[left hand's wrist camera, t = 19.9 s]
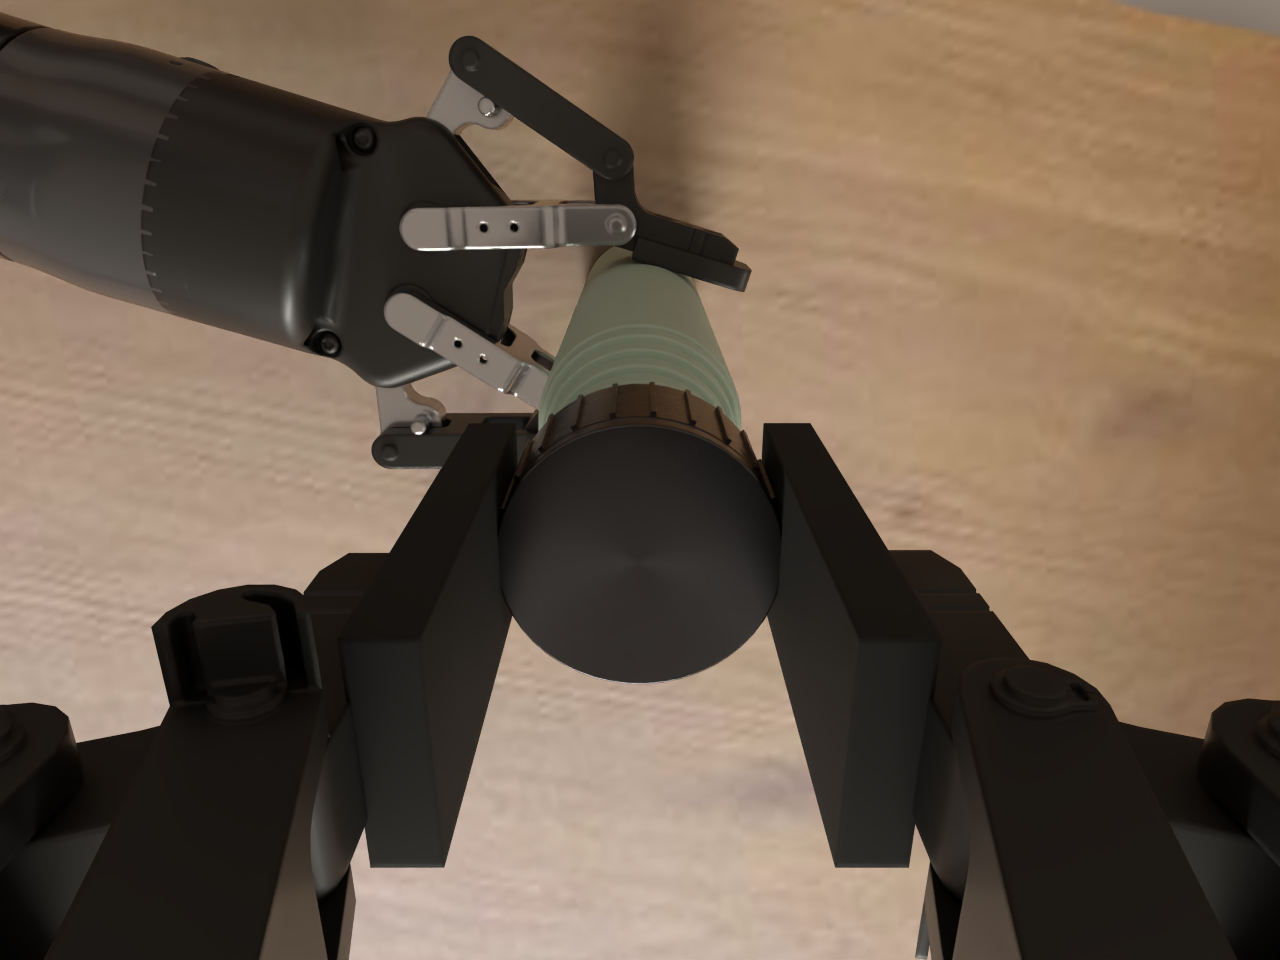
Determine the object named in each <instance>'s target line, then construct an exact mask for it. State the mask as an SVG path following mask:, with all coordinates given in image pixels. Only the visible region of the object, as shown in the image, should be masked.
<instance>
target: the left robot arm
mask: <svg viewBox="0 0 1280 960" xmlns="http://www.w3.org/2000/svg"><path fill="white" fill-rule="evenodd" d="M762 463H763V466H764V468H765V471H766V473H767V476H768V479H769V481H770V484H771V486H772V489H773V491H774V494H775V497H776V499H777V501H776V502H774V503H773V504H774V506H775V509H776V512H777V515H778V517H779V520H780V524H781V529H782V542H781V558H780V573H779V587H778V593H777V595H776V598H775V600H774V603H773V605H772V607H771V609H770V611H769V612H768V614H767V617H768V621H769V624H770V628H771V632H772V635H773V639H774V643H775V647H776V650H777V654H778V658H779V661H780V665H781V669H782V672H783V676H784V680H785V683H786V687H787V691H788V695H789V698H790V702H791V706H792V709H793V713H794V717H795V720H796V724H797V728H798V732H799V735H800V739H801V743H802V746H803V750H804V754H805V757H806V761H807V765H808V769H809V772H810V776H811V780H812V783H813V787H814V791H815V794H816V798H817V802H818V806H819V809H820V813H821V817H822V820H823V824H824V828H825V831H826V835H827V839H828V842H829V846H830V850H831V854H832V857H833V861H834V865H835V868H909V863H910V856H911V849H912V842H913V835H914V829H915V824H916V826H917V829H918V831H919V834H920V836H921V839H922V841H923V844H924V846H925V849H926V851H927V854H928V856H929V858H930V865H929V872H928V878H927V884H926V891H925V897H924V903H923V910H922V916H921V922H920V929H919V935H918V941H917V949H916V956H915V958H919V959H925V960H927V956H928V951H929V945H930V951H931V959H932V960H1280V701H1271V700H1259V699H1242V700H1236V701H1230V702H1225V703H1223V704H1222V705H1221V706H1220V707H1218V708H1217V709H1216V710H1215V711H1213V712H1212V715H1211V718H1210V722H1209V725H1208V729H1207V732H1206V736H1205V739H1200V738H1195V737H1190V736H1185V735H1179V734H1174V733H1169V732H1164V731H1158V730H1153V729H1148V728H1143V727H1138V726H1134V725H1130V724H1126V723H1122V722H1118V720H1117V718H1116V716H1115V714H1114V712H1113V710H1112V708H1111V706H1110V704H1109V703H1108V702H1107V701H1106V699H1105V698H1104V697H1103V696H1102V695H1101V693H1100V692H1099V691H1098V690H1097V688H1095V687H1094V686H1092V685H1090V684H1089V683H1087V682H1086V681H1084V680H1083V679H1081V678H1080V677H1078V676H1077V675H1075V674H1073V673H1071V672H1068V671H1066V670H1063V669H1061V668H1058V667H1055V666H1053V665H1050V664H1048V663H1044V662H1039V661H1034V660H1029V658H1028V657H1027V656H1026V654H1025V653H1024V652H1023V650H1022V649H1021V648H1020V646H1019V645H1018V644H1017V642H1016V641H1015V640H1014V638H1013V637H1012V636H1011V635H1010V633H1009V632H1008V631H1007V629H1006V628H1005V627H1004V625H1003V624H1002V623H1001V621H1000V620H999V619H998V617H997V616H996V615H995V613H994V612H993V611H990V610H989V606H988V604H987V603H986V602H985V600H984V599H983V598H982V596H981V595H980V594H979V593H976V588H975V587H974V586H973V584H972V583H971V582H970V580H969V579H968V578H967V576H966V575H965V574H964V573H963V571H962V570H961V569H960V568H959V567H957V566H956V565H954V564H953V563H951V562H949V561H948V560H946V559H944V558H943V557H941V556H939V555H938V554H936V553H935V552H933V551H931V550H888V549H887V547H886V546H885V544H884V542H883V541H882V539H881V538H880V536H879V534H878V533H877V531H876V529H875V528H874V526H873V525H872V523H871V521H870V520H869V518H868V516H867V515H866V513H865V512H864V510H863V508H862V507H861V505H860V503H859V502H858V500H857V499H856V497H855V495H854V494H853V492H852V490H851V489H850V487H849V485H848V484H847V482H846V481H845V479H844V477H843V476H842V474H841V472H840V471H839V469H838V468H837V466H836V464H835V463H834V461H833V459H832V458H831V456H830V455H829V453H828V451H827V450H826V448H825V446H824V445H823V443H822V442H821V440H820V438H819V437H818V435H817V433H816V432H815V430H814V428H813V427H812V425H811V424H810V423H764V428H763V446H762ZM517 467H518V456H517V438H516V423H469V424H468V426H467V428H466V429H465V431H464V432H463V434H462V436H461V437H460V439H459V441H458V442H457V444H456V445H455V447H454V449H453V450H452V452H451V454H450V455H449V457H448V458H447V460H446V462H445V463H444V465H443V467H442V468H441V470H440V471H439V473H438V475H437V476H436V478H435V480H434V481H433V483H432V485H431V486H430V488H429V489H428V491H427V493H426V494H425V496H424V498H423V499H422V501H421V502H420V504H419V506H418V507H417V509H416V511H415V512H414V514H413V515H412V517H411V519H410V520H409V522H408V524H407V525H406V527H405V528H404V530H403V532H402V533H401V535H400V537H399V538H398V540H397V541H396V543H395V545H394V546H393V548H392V550H391V551H390V553H348V554H347V555H345V556H343V557H342V558H340V559H339V560H337V561H335V562H334V563H332V564H330V565H329V566H327V567H326V568H324V569H322V570H321V571H319V573H318V574H317V575H316V577H315V578H314V579H313V581H312V582H311V583H310V585H309V586H308V587H307V589H306V590H305V591H304V595H303V594H301V593H300V592H299V591H297V590H296V589H291V588H287V587H283V586H278V585H243V586H238V587H232V588H226V589H220V590H216V591H213V592H210V593H207V594H204V595H201V596H198V597H195V598H192V599H189V600H188V601H186V602H184V603H182V604H180V605H179V606H177V607H175V608H173V609H171V610H169V611H168V612H166V613H165V614H164V615H163V616H162V617H161V618H160V619H159V620H158V621H157V622H156V623H155V624H154V625H153V626H152V627H151V628H152V632H153V636H154V641H155V645H156V649H157V653H158V657H159V662H160V666H161V670H162V674H163V679H164V683H165V687H166V691H167V696H168V700H169V704H170V707H169V709H168V711H167V713H166V715H165V717H164V719H163V721H162V723H161V725H160V726H157V727H153V728H149V729H145V730H141V731H136V732H131V733H126V734H121V735H116V736H111V737H105V738H100V739H95V740H90V741H85V742H79V743H76V742H75V738H74V735H73V731H72V728H71V724H70V721H69V717H68V716H67V715H66V714H64V713H63V712H62V711H61V710H59V709H58V708H57V707H56V706H50V705H44V704H38V703H22V704H11V705H0V960H349V953H350V945H351V936H352V928H353V920H354V912H355V904H356V899H355V892H354V884H353V878H352V872H351V865H350V862H351V859H352V857H353V854H354V852H355V849H356V847H357V844H358V842H359V839H360V837H361V834H362V832H363V829H364V827H365V833H366V839H367V846H368V853H369V860H370V867H371V868H426V867H444V866H445V863H446V859H447V855H448V851H449V848H450V844H451V840H452V837H453V833H454V829H455V826H456V822H457V818H458V815H459V811H460V807H461V803H462V800H463V796H464V792H465V789H466V785H467V781H468V778H469V774H470V770H471V766H472V763H473V759H474V755H475V752H476V748H477V744H478V741H479V737H480V733H481V730H482V726H483V722H484V718H485V715H486V711H487V707H488V704H489V700H490V696H491V693H492V689H493V685H494V681H495V678H496V674H497V670H498V667H499V663H500V659H501V656H502V652H503V648H504V644H505V641H506V637H507V633H508V630H509V626H510V622H511V619H512V614H511V612H510V610H509V608H508V606H507V604H506V602H505V600H504V597H503V594H502V591H501V582H500V567H499V552H498V535H497V532H498V526H499V522H500V518H501V515H502V513H501V507H502V505H503V502H504V500H505V497H506V494H507V492H508V489H509V486H510V484H511V481H512V479H513V476H514V473H515V471H516V469H517Z"/></svg>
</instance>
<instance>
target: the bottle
mask: <svg viewBox="0 0 1280 960" xmlns="http://www.w3.org/2000/svg"><path fill="white" fill-rule="evenodd" d="M649 382H655V385H660V386H667V387H671V388H675V389H678V390H682V391H685V389H687V390H690V391H691V394H692V395H694V396H697V397H699V398H701V399H703V400H704V401H706V402H708V403H709V404H711V405H713V406H714V407H717V406H719V407H721V408H722V410H723V414H724V415H726V416H727V417H728V418H729V419H730V420H731V421H732V422H733V423H734V424H735V425H736V426H737V427H738V428H739V430H740V431H741V409H740V404H739V398H738V395H737V392H736V389H735V385H734V383H733V380H732V378H731V375H730V373H729V370H728V368H727V365H726V363H725V360H724V358H723V355H722V353H721V350H720V348H719V345H718V343H717V340H716V338H715V335H714V332H713V330H712V327H711V325H710V322H709V320H708V317H707V315H706V312H705V310H704V307H703V305H702V302H701V300H700V297H699V295H698V292H697V290H696V287H695V285H694V282H693V280H692V277H689V276H686V275H682V274H679V273H676V272H672V271H669V270H666V269H663V268H660V267H657V266H653V265H649V264H646V263H643V262H639V261H636V260H633V259H632V251H629V250H626V249H622V248H619V247H616V246H613V247H611V248H610V249H608V250H607V251H606V252H605V253H603V254H602V255H601V256H600V257H599V259H598V260H597V261H596V262H595V264H594V266H593V267H592V269H591V271H590V273H589V276H588V278H587V281H586V283H585V286H584V288H583V291H582V293H581V296H580V298H579V301H578V303H577V306H576V308H575V311H574V313H573V316H572V319H571V321H570V324H569V326H568V329H567V331H566V334H565V336H564V339H563V341H562V344H561V346H560V349H559V351H558V354H557V356H556V359H555V361H554V364H553V366H552V369H551V371H550V374H549V377H548V379H547V382H546V384H545V387H544V390H543V393H542V396H541V400H540V406H539V413H538V432H539V430H540V429H541V428H542V427H543V425H544V424H545V423H546V422H547V419H548V416H549V415H550V414H551V413H553V414H554V415H555V414H556V413H557V412H559V411H560V410H561V409H563V408H564V407H565V406H567V405H568V404H570V403H571V402H573V401H575V400H577V397H578V395H580V394H583V396H585V395H587V394H590V393H592V392H595V391H598V390H601V389H605V388H609V387H612V384H614V383H618V385H627V384H649Z"/></svg>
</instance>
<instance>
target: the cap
mask: <svg viewBox="0 0 1280 960" xmlns="http://www.w3.org/2000/svg"><path fill="white" fill-rule="evenodd" d="M776 501H777V499H776V497H775V494H774V491H773V489H772V486H771V484H770V481H769V479H768V476H767V473H766V471H765V468H764V466H763V463H762V461H761V459H759V460H757V458H756V456H755V454H754V452H753V450H752V447H751V444H750V441H749V439H748V436H747V433H746V432H745V431H744V430H742V431H740V430H739V428H738V427H737V426H736V425H735V424H734V423H733V422H732V421H731V420H730V419H729V418H728V417H727V416H726V415H724V414H723V410H722V408H721V407H719V406H717V407H714V406H713V405H711V404H709V403H708V402H706V401H704V400H703V399H701V398H699V397H697V396H694V395H692V394H691V391H690V390H687V389H685V391H682V390H678V389H675V388H671V387H667V386H660V385H655V382H649V384H627V385H618V383H614V384H612V387H609V388H605V389H601V390H598V391H595V392H592V393H590V394H587V395H585V396H583V394H580V395H578V397H577V400H575V401H573V402H571V403H570V404H568V405H567V406H565V407H564V408H563V409H561V410H560V411H559V412H557V413H556V414H555V415H554V414H553V413H551V414H550V415H549V416H548V419H547V422H546V423H545V424H544V425H543V427H542V428H541V429H540V430H539V432H538V433H537V434H536V436H535V437H534V438H533V440H530V439H529V440H528V441H527V443H526V446H525V448H524V451H523V453H522V456H521V459H520V461H519V464H518V467H517V469H516V471H515V473H514V476H513V479H512V481H511V484H510V486H509V489H508V492H507V494H506V497H505V500H504V502H503V505H502V507H501V513H502V515H501V518H500V522H499V526H498V532H497V535H498V552H499V567H500V582H501V591H502V594H503V597H504V600H505V602H506V604H507V606H508V608H509V610H510V612H511V614H512V616H513V617H514V619H515V620H516V621H517V623H518V624H519V626H520V627H521V629H522V630H523V631H524V632H525V633H526V634H527V636H528V637H529V638H530V639H531V640H532V641H533V642H534V643H535V644H536V645H537V646H538V647H540V648H541V649H542V650H543V651H544V652H545V653H547V654H548V655H549V656H551V657H552V658H554V659H555V660H557V661H558V662H560V663H562V664H564V665H566V666H567V667H569V668H571V669H573V670H575V671H578V672H580V673H583V674H586V675H588V676H591V677H594V678H598V679H602V680H606V681H610V682H618V683H626V684H652V683H663V682H668V681H673V680H678V679H682V678H685V677H688V676H691V675H694V674H697V673H699V672H701V671H704V670H706V669H708V668H710V667H712V666H714V665H716V664H717V663H719V662H721V661H722V660H724V659H726V658H727V657H729V656H730V655H731V654H732V653H734V652H735V651H736V650H738V649H739V648H740V647H741V646H742V645H743V644H744V643H745V642H746V641H747V640H748V639H749V638H750V637H751V636H752V635H753V634H754V633H755V632H756V630H757V629H758V628H759V626H760V625H761V624H762V622H763V621H764V619H765V618H766V616H767V614H768V612H769V611H770V609H771V607H772V605H773V603H774V600H775V598H776V595H777V593H778V587H779V573H780V558H781V542H782V529H781V524H780V520H779V517H778V515H777V512H776V509H775V506H774V504H773V503H774V502H776Z"/></svg>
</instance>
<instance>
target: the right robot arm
mask: <svg viewBox="0 0 1280 960" xmlns="http://www.w3.org/2000/svg"><path fill="white" fill-rule="evenodd" d="M449 64H450V67H451V71H450V73H449V75H448V77H447V78H446V80H445V82H444V84H443V86H442V88H441V90H440V92H439V94H438V96H437V98H436V100H435V102H434V103H433V105H432V107H431V109H430V111H429V113H428V115H427V117H412V118H408V119H404V120H401V121H394V122H386V121H382V120H378V119H375V118H372V117H368V116H365V115H362V114H359V113H355V112H352V111H349V110H346V109H342V108H339V107H336V106H333V105H329V104H326V103H323V102H320V101H317V100H313V99H310V98H307V97H304V96H300V95H297V94H294V93H291V92H287V91H284V90H281V89H278V88H274V87H271V86H268V85H265V84H262V83H258V82H255V81H252V80H249V79H245V78H242V77H239V76H235V75H232V74H229V73H226V72H223V71H220V70H219V69H217V68H216V67H214V66H212V65H210V64H207V63H205V62H202V61H200V60H197V59H193V58H189V57H185V58H183V57H180V58H178V57H175V56H171V55H168V54H165V53H162V52H159V51H156V50H152V49H149V48H145V47H142V46H138V45H134V44H130V43H125V42H120V41H115V40H109V39H102V38H95V37H89V36H84V35H78V34H73V33H70V32H66V31H62V30H58V29H53V28H50V27H47V26H43V25H40V24H37V23H34V22H31V21H27V20H24V19H21V18H18V17H14V16H11V15H8V14H5V13H1V12H0V258H2V259H6V260H10V261H14V262H17V263H20V264H23V265H26V266H29V267H32V268H35V269H37V270H40V271H42V272H45V273H47V274H50V275H52V276H55V277H57V278H59V279H61V280H64V281H66V282H68V283H71V284H73V285H75V286H78V287H81V288H83V289H86V290H88V291H91V292H94V293H97V294H101V295H104V296H107V297H110V298H114V299H118V300H121V301H125V302H128V303H132V304H136V305H139V306H143V307H146V308H150V309H153V310H157V311H160V312H164V313H168V314H171V315H175V316H178V317H182V318H185V319H189V320H192V321H196V322H200V323H203V324H207V325H210V326H214V327H218V328H221V329H225V330H229V331H232V332H236V333H239V334H243V335H246V336H250V337H253V338H257V339H260V340H264V341H268V342H271V343H275V344H278V345H282V346H285V347H289V348H292V349H296V350H300V351H303V352H307V353H311V354H315V355H319V356H324V357H328V358H332V359H335V360H337V361H339V362H341V363H343V364H345V365H346V366H348V367H349V368H351V369H352V370H353V371H354V372H356V373H357V374H358V375H359V376H360V377H361V378H362V379H363V380H365V381H366V382H368V383H369V384H371V385H374V386H376V394H377V402H378V411H379V419H380V428H381V434H380V435H379V436H378V438H377V439H376V440H375V441H374V442H373V445H372V456H373V458H374V460H375V461H376V462H377V463H378V464H379V465H380V466H382V467H384V468H388V469H441V468H442V467H443V465H444V463H445V462H446V460H447V458H448V457H449V455H450V454H451V452H452V450H453V449H454V447H455V445H456V444H457V442H458V441H459V439H460V437H461V436H462V434H463V432H464V431H465V429H466V428H467V426H468V424H469V423H516V438H517V456H518V464H519V461H520V459H521V456H522V453H523V451H524V448H525V446H526V443H527V441H528V440H529V439H530V440H533V438H534V437H535V436H536V434H537V433H538V413H539V406H540V400H541V396H542V393H543V390H544V387H545V384H546V382H547V379H548V377H549V374H550V371H551V369H552V366H553V364H554V361H555V359H556V357H554V356H553V355H551V354H550V353H548V352H546V351H545V350H543V349H542V348H541V347H540V346H539V345H538V344H537V343H536V342H535V341H534V340H533V339H532V338H531V337H529V336H528V335H526V334H525V333H523V332H522V331H520V330H518V329H517V328H515V327H514V326H512V325H511V324H509V322H510V318H511V314H512V310H513V291H512V284H513V281H514V279H515V277H516V275H517V274H518V272H519V270H520V268H521V266H522V265H523V263H524V260H525V256H526V252H527V249H540V248H556V247H564V246H616V247H619V248H622V249H626V250H629V251H632V259H633V260H636V261H639V262H643V263H646V264H649V265H653V266H657V267H660V268H663V269H666V270H669V271H672V272H676V273H679V274H682V275H686V276H689V277H692V278H696V279H699V280H702V281H706V282H709V283H712V284H715V285H719V286H722V287H725V288H729V289H732V290H736V291H740V292H745V289H746V286H747V283H748V280H749V277H750V274H751V271H752V270H751V269H750V268H749V267H748V266H747V265H746V264H744V263H742V262H739V261H736V260H735V259H736V256H737V253H738V250H739V249H738V248H737V247H736V246H735V245H734V244H733V243H732V242H731V241H730V240H728V239H727V238H726V237H725V236H724V235H723V234H721V233H718V232H715V231H711V230H708V229H704V228H702V227H698V226H695V225H692V224H689V223H685V222H682V221H679V220H676V219H672V218H669V217H666V216H663V215H659V214H656V213H653V212H650V211H648V210H647V209H645V208H644V207H643V206H642V205H641V204H640V203H639V201H638V199H637V197H636V194H635V187H634V171H633V160H634V154H633V150H632V148H631V146H630V145H629V144H628V142H626V141H625V140H624V139H622V138H621V137H620V136H618V135H617V134H615V133H614V132H612V131H611V130H610V129H608V128H607V127H605V126H604V125H602V124H601V123H600V122H598V121H597V120H595V119H594V118H592V117H591V116H590V115H588V114H587V113H585V112H584V111H582V110H581V109H580V108H578V107H577V106H575V105H574V104H572V103H571V102H570V101H568V100H567V99H565V98H564V97H562V96H561V95H560V94H558V93H557V92H555V91H554V90H552V89H551V88H549V87H548V86H547V85H545V84H544V83H542V82H541V81H539V80H538V79H537V78H535V77H534V76H532V75H531V74H529V73H528V72H527V71H525V70H524V69H522V68H521V67H519V66H518V65H517V64H515V63H514V62H512V61H511V60H509V59H508V58H507V57H505V56H504V55H502V54H501V53H499V52H498V51H497V50H495V49H494V48H492V47H491V46H489V45H488V44H486V43H485V42H483V41H482V40H480V39H479V38H477V37H474V36H464V37H461V38H459V39H457V40H456V41H455V42H454V43H453V45H452V47H451V49H450V52H449ZM514 117H516V118H517V119H518V120H520V121H521V122H523V123H524V124H526V125H527V126H529V127H530V128H532V129H533V130H534V131H536V132H537V133H539V134H540V135H542V136H543V137H545V138H546V139H548V140H549V141H551V142H552V143H553V144H555V145H556V146H558V147H559V148H561V149H562V150H564V151H565V152H567V153H568V154H570V155H571V156H572V157H574V158H575V159H577V160H578V161H580V162H581V163H583V164H584V165H586V166H587V167H588V168H590V169H591V170H593V179H594V192H595V200H510V199H509V198H508V196H507V195H506V194H505V192H504V191H503V190H502V189H501V187H500V186H499V185H498V184H497V182H496V181H495V180H494V178H493V177H492V176H491V175H490V173H489V172H488V171H487V170H486V168H485V167H484V166H483V164H482V163H481V162H480V161H479V159H478V158H477V157H476V155H475V154H474V153H473V152H472V150H471V149H470V148H469V147H468V145H467V144H466V143H465V141H464V140H463V139H462V138H461V136H460V133H461V132H462V131H463V129H465V128H466V127H468V126H470V125H473V124H477V125H480V126H482V127H484V128H487V129H493V130H500V129H503V128H505V127H507V126H508V125H509V124H510V123H511V121H512V120H513V118H514ZM500 339H501V341H500ZM483 356H485V357H486V358H487V360H484V359H483V358H482V357H483ZM457 366H459V367H460V368H462V369H464V370H465V371H467V372H468V373H470V374H472V375H473V376H475V377H476V378H478V379H480V380H481V381H483V382H485V383H486V384H488V385H489V386H491V387H493V388H494V389H496V390H498V391H500V392H502V393H505V394H511V395H514V396H516V397H518V398H519V399H521V400H523V401H524V402H526V403H527V404H529V405H531V406H532V407H534V408H535V409H536V410H535V412H534V413H446V409H445V407H444V406H443V404H442V403H441V402H440V401H438V400H436V399H434V398H430V397H425V396H422V395H420V394H418V393H417V392H416V391H415V390H414V389H413V387H412V386H411V383H412V382H415V381H417V380H420V379H423V378H426V377H429V376H431V375H434V374H437V373H440V372H443V371H445V370H448V369H451V368H454V367H457Z"/></svg>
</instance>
